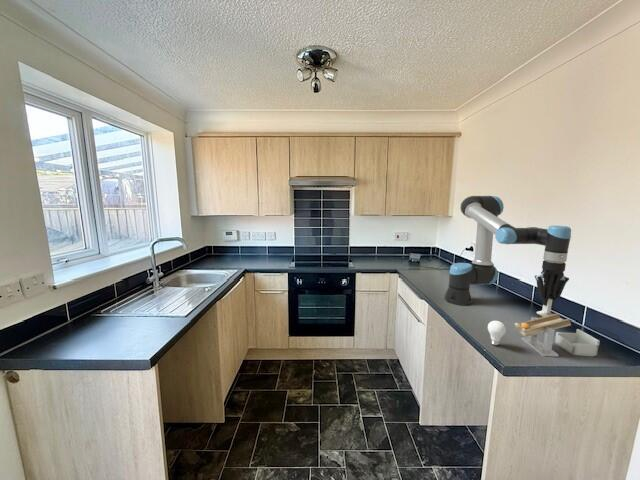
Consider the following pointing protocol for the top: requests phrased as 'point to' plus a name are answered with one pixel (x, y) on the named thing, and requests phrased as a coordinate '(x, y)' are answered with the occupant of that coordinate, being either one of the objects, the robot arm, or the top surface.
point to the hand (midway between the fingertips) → (546, 312)
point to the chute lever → (542, 323)
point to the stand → (546, 346)
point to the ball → (525, 326)
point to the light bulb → (496, 331)
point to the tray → (577, 343)
